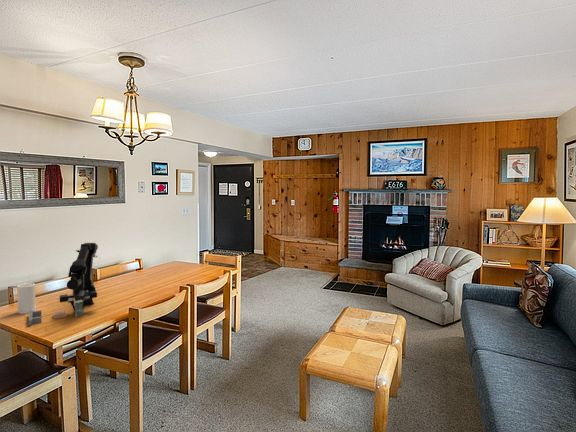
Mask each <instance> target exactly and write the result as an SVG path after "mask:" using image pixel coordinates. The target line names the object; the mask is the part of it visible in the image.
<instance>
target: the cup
mask: <svg viewBox="0 0 576 432" xmlns="http://www.w3.org/2000/svg"><path fill="white" fill-rule="evenodd" d="M16 290H17V313H18V314H20V315H26V314H29V311H30V310H33V311H36V284H35V283H34V282H28V283H21V284H19V285H17V288H16Z"/></svg>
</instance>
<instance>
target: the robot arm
mask: <svg viewBox="0 0 576 432" xmlns="http://www.w3.org/2000/svg"><path fill="white" fill-rule="evenodd" d="M80 247H81V249H80V248H79V250H80V252H79V253H78V255H77V258H76V260H74V261H73V262H72V264H71V265H70V267H69V271H68V276H67V277H68V278H70V279H69V280H68V281H67V283H66V287H67V288H68V289H69V290H72V294H71V295H69V294H68V293H67V294H61V295H59V296H58V297H59V303H65V302H67V303H70V305H71V306H72V310H73V312H74V311H75V301H78V300H81V303H82V306H83V310H84V309H85V306H88V305H94V304H95V302H94V301H93V299H95V298H98V292H97V289H96V286H95V284H94V283H95V282H94V281H93V279H92V274H93V273H92V271H93V264H94V263H93V262H94V257H93V256H94V255H96V254H97V251H98V248H99V246H98V244H97V243H96V242H84V243H81V245H80Z"/></svg>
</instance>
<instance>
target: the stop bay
mask: <svg viewBox="0 0 576 432" xmlns="http://www.w3.org/2000/svg"><path fill="white" fill-rule="evenodd" d="M41 323H42V310H40V309H39V310H35V311H33V310H30V311H29V313H28V327H32V326H33V325H35V324H36V325H37V324H41Z"/></svg>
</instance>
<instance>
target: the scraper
mask: <svg viewBox="0 0 576 432" xmlns="http://www.w3.org/2000/svg"><path fill="white" fill-rule="evenodd" d="M81 302H82V300H78V301H75V300H74V305H75V311H74V310H73V312H74V315H75V317H76V318H77V317H83V315H84V312H83V311H84V309H83V306H82V303H81Z"/></svg>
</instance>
